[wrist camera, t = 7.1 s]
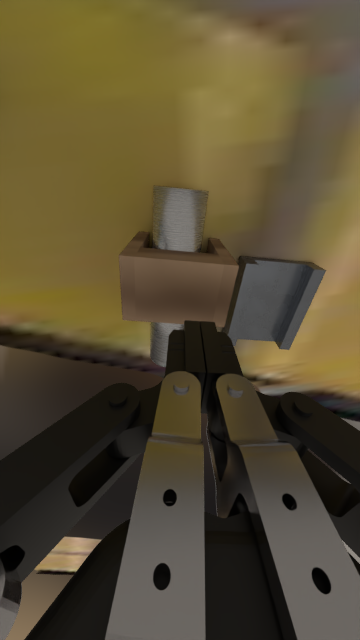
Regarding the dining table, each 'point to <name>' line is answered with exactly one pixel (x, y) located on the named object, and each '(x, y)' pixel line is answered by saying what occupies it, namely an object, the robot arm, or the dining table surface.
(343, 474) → the robot arm
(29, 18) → the dining table surface
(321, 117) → the dining table surface
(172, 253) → the brown block
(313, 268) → the v block
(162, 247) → the axle
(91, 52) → the dining table surface
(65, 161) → the dining table surface
